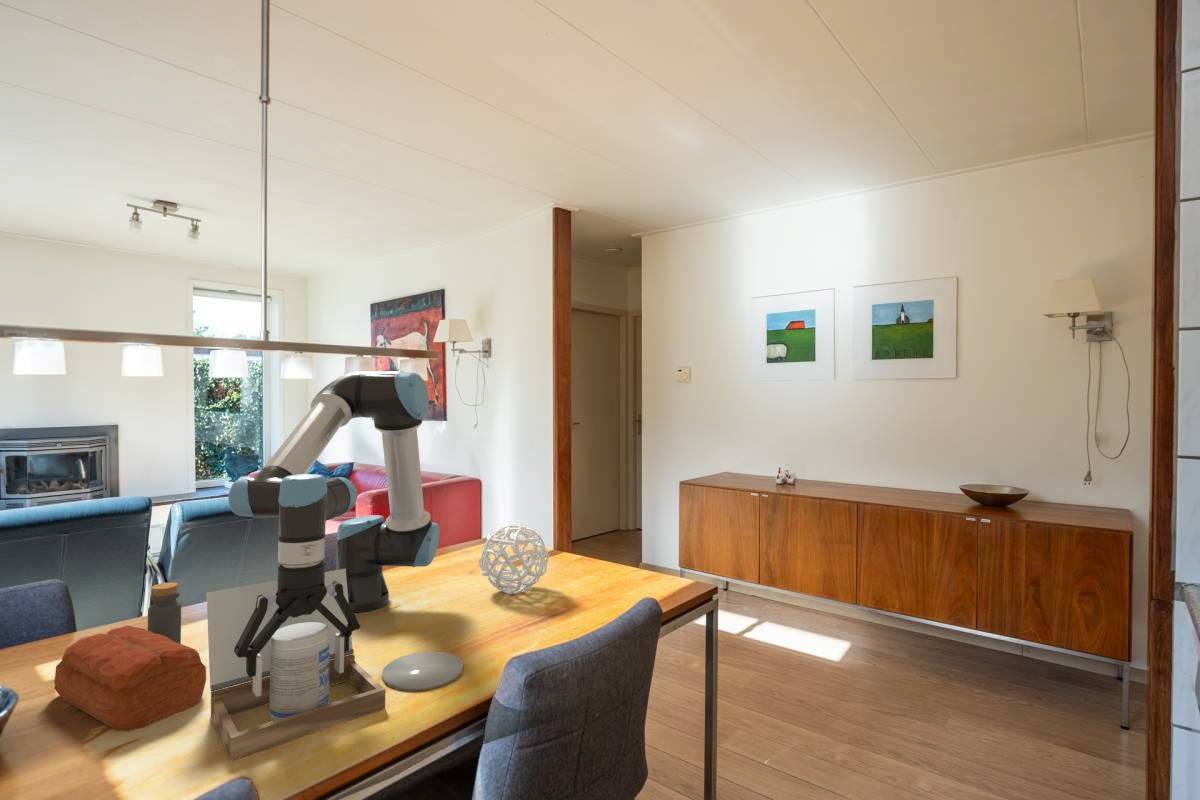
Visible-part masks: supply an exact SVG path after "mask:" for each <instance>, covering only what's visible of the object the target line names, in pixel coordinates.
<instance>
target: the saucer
mask: <svg viewBox="0 0 1200 800" xmlns="http://www.w3.org/2000/svg"><path fill="white" fill-rule="evenodd" d="M463 669H464V662H463V661H462V660H461V658H459V656H456V655H455V654H452V653H450V652H449V653H448V652H444V651H442V652H441V651H420V652H414V653H410V654H407V655H403V656H400V657H398V658H395V659H394V660H392V661H390V662H388V663H387V664H386V665H385V666H384V668H383V669H382V673H381V679H382V682H383V683H384V684H385V685H386V686H388V687H390V688H392V689H395V690H399V691H408V692H410V691H413V692H415V691H419V692H420V691H427V690H432V689H438V688H441V687H443V686H445V685H448V684H450V683H452V682H453V681H456V680H457V679H458V678H459V677H460V676H461V675H462V673H463Z"/></svg>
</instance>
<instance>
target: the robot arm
mask: <svg viewBox="0 0 1200 800" xmlns="http://www.w3.org/2000/svg"><path fill="white" fill-rule="evenodd" d="M429 397H430V396H429V391H428V387H427V385H426V382H425V380H424V379H423V377H422V376H421V375H420V374H418V373H416V372H411V371H402V370H399V371H398V370H397V371H395V370H393V371H392V370H391V371H390V370H389V371H388V370H386V371H385V370H384V371H380V370H378V371H376V370H375V371H374V370H373V371H370V370H367V371H366V370H358V371H352V372H350V373H349V372H348V373H346V374H344V375H342V376H339V377H337V378H336V379H335V380H333V381H330V383H329V384H327V385H326V386H324V387H323V388H322V389H321V390H319V392H318V393H316V395H315V397H314V398H313V399H312V400H311V403H310V409H309V411H308V412H307V413H306V414H305V416H304V417H303V418H302V419H301V421H300V422H299V423H298V424H297V425H296V427H295V428H294V429H293V430H292V432H291V433H290V434H289V436H288V437H287V438H286V439H285V440H284V442H283V443H282V444H281V445H280V447H279V448H278V449H277V450H276V451H275V453H274V454H273V455H272V456H271V457H270V459H269V460H268V461H267V463H266V464H265V465H264V466H263V467H262V469H261V470H260V471H259V472H258V473H257V475H256V476H255V477H252V476H248V477H241V478H238V479H236V480H235V481H234V482H233V484H232V485H231V487H230V489H229V492H228V500H227V501H228V506H229V507H230V510H231V511H232V513H233V514H235V515H237V516H241V517H250V518H278V545H277V546H278V549H277V551H278V552H277V562H278V564H279V563H280V564H279V566H278V567H277V580H278V590H277V593H276V595H275V596H264V595H259V596H258V597H257V600H256V607H255V610H254V612H253V614H252V616H251V618H250V619H249V621H248V623H247V625H246V627H245V629H244V631H243V633H242V635H241V637H240V639H239V641H238V642H237V644H236V646H235V648H234V652H235V654H236V655H237V657H239V658H241V657H246V672H247V674H248V676H249V677H252V676H253V688H252V691H253V693H254V694H255V696H256V697H258V696H261V682H262V657H261V655H260V654H259V652H260V651H261V650H262V648H263V647H264V646H265V645H266V643H267V642H268V641H269V640H270V638H271V637H272V636H273V635H274V633H275V632H276V631H277V629H278V628H279V627H280V626H281V624H282V623H284V622H285V621H286V620H287V619H288V617H289V616H290V617H293V618H295V617H299V616H301V615H309V614H312V612H314V611H315V610H318V611H319V612H320V613H321V614H322V615H323V616H324V617H325V618H326V619H327V620H328V621H329V622H330V623H332V624H333V625H334V626H335V627H336V628H337V629H338V630H339V631H340V633H336V634H335V666H334V669H335V670H336V671H337V672H338V673H339V674H340V673H343V672H344V652H348V650H349V637H350V636H351V637H352V635H353V634H352V633H353V632H354V631H357V630H359V629H360V628H361V624H360V622H359V619H357V617H356V615H355V613H362V612H368V611H371V610H377V609H379V608H382V607H383V606H385V605H386V604H388V602H389V601H390V593H389V592H390V591H389V588H388V585H387V582H386V580H385V577H384V573H383V572H384V570H383V568H384V567H412V568H419V567H421V568H422V567H428V566H430V564H431V563H432V562H433V560H434V558H435V557H436V553H437V550H438V547H439V539H440V526H439V524H438V522H437V523H436V522H432V520H431V519H432V518H431V514H430V513H429V511H426V510H425V506H424V496H423V495H424V494H423V485H422V484H423V483H422V474H421V473H422V472H421V471H422V469H421V461H420V460H421V459H420V451H419V449H420V448H419V438H418V428H419V427H420V426H422V424H423V419H425V418H426V417H427V416H428V413H429V410H430V409H429V408H430V406H429V404H430V398H429ZM356 418H357V419H358V418H371V419H373V424H374V428H375V429H376V430H377V431H379V432H380V433H381V439H382V449H383V459H384V464H385V465H384V466H385V467H384V468H385V476H386V483H387V494H388V495H387V496H388V503H389V513H390V515H389V516H388V517H387V518H386V520H385V518H384V516H383V515H378V514H377V515H376V514H375V515H374V514H373V515H366V516H358V517H354V518H351V519H346V520H344V521H342V522H341V523H340V524H339V525H338V526H337V527H338V528H337V533H336V534H337V535H336V539H335V540H336V570H340V569H345V568H346V579H347V591H348V602H349V604H348V602H347V600H346V598H345V597H344V593H343V585H342V584H340V583H339V582H337V581H334V582H333V583H332V584H331V585H328V586H325V584H324V581H325V572H326V570H325V568H326V563H325V561H323V560H324V559H325V558H326V524H327V523H326V521H329V520H331V519H334V518H337V517H338V518H339V517H340V516H343V515H345V514H346V513H347V512H349V511H350V510H351V509H353V508H354V506H355V504H356V503H357V500H358V491H357V488H356V486H355V484H354V483H353V482H352V481H351V480H350V479H348V478H346V477H341V476H338V477H334V476H332V477H329V478H327V479H326V477H325V476H324V475H322V474H318V473H317V474H313V473H309V474H308V472H309V471H310V469H312V467H313V465H314V464H315V463H316V461H317V460H318V458H319V457H320V455H321V454H322V453H323V452H324V450H325V449H326V447H327V446H328V444H329V443H330V442H331V440H332V439H333V437H334V436H335V434H336V433H337V431H339V429H340V428H341V427H344V426H346V425H347V424H349V423H350V421H351V420H353V419H356ZM327 593H329V594H330V595H331V596H334V598H335V600H336V602H337V604H338V606H339V607H340V609H341V611H342V613H343V614H344V616H345V618H346V620H347V622H348V624H346V625H344V624H343V623H342V622H341V621H340V620H339V619H338V618H337V617H336V616H334V615H333V614H332V613H331V612H330V611H329V610H328V609H327V608H326V607H325V606H324V605H323V604H322V603H321V601H322V600H323V599H324V597H325V596H326V594H327ZM273 603H276V604H277V605H278V606H279V608H278V609H277V610H276V611H275V613H274V614H273V617H272V618H271V619H270V620H269V622H268V623H267V624H266V625H265V627H264V628H263V629H262V630H261V632H260V633H259V634H258V635H257V637H256V638H255V639H254V640H253V638H254V636H255V634H256V632H257V630H258V628H259V626H260V624H261V622H262V620H263V618H264V616H265V614H266V611H267V610H268V609H270V607H271V605H272V604H273ZM252 640H253V642H252ZM251 642H252V643H251Z"/></svg>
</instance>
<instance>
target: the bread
mask: <svg viewBox="0 0 1200 800" xmlns="http://www.w3.org/2000/svg"><path fill="white" fill-rule="evenodd" d="M206 682H207V666H206V665H205V664H204V663H203V662H202V660H201V656H200V653H199V652H198V651H197V650H196V648H193V647H190V646H187V645H185V644H179V643H176V642H174V641H172V640H171V639H170V638H168V637H165V636H163V635H161V634H154V633H153V632H151V631H148V629H145V628H141V627H136V626H132V625H124V626H119V627H116V628H113V629H110V630H108V632H106V633H96V634H93V635H90V636H87V637H81V638H80V639H78V640H77V641H76V642H74V643H73V644H71V645H69V646H68V647H67V648H66V649H65V650H64V653H63V656H62V659H61V661H60V662H59V663H58V664H57V665H56V666H55V675H54V682H53V683H54V689H55V691H56V692H57V694H58V695H59V696H60V698H61V699H62V700H63V701H64V702H66V703H68V704H70V705H71V706H73V707H74V708H75V707H76V708H77V709H79V710H80V711H81V710H82V711H83V712H84V713H86V714H89V716H91V717H92V718H94V719H96V720H97V721H99V722H101V723H102V724H104V725H105V726H108V727H110V728H111V729H113V730H117V731H125V732H127V731H133V730H136V729H140V728H141V729H142V728H145V727H148V726H149V725H153V724H155V723H157V722H159V721H162V720H164V719H167V718H170V717H172V716H174V715H177V714H179V713H181V712H185V711H186V710H189V709H191V708H193V707H195V706H196V705H198V704H199V703H200V702H201V701H202V699H203V695H204V690H205V686H206Z"/></svg>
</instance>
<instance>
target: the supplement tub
mask: <svg viewBox="0 0 1200 800" xmlns="http://www.w3.org/2000/svg"><path fill="white" fill-rule="evenodd" d="M327 704H330V686H329V628H328V626H327V625H325V624H323V623H317V622H306V623H298V624H293V625H289V626H286V627H283V628H280V629H278V630H277V631H276V632H275V633H274V635H273V636H272V637H271V643H270V704H269V717H270V720H271V722H272V721H276V720H279V719H282V718H285V717H288V716H291V715H295V714H298V713H301V712H304V711H307V710H311V709H314V708H317V707H320V706H323V705H327Z"/></svg>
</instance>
